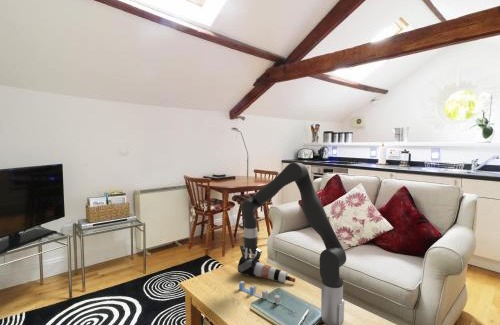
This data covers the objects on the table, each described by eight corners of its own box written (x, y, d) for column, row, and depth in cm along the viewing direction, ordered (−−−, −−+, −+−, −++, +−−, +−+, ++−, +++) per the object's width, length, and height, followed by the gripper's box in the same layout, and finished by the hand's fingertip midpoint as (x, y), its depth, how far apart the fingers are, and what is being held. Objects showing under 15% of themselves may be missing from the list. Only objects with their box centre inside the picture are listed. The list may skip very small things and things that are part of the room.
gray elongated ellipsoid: (252, 262, 151) (252, 256, 151) (257, 264, 149) (257, 257, 149) (236, 271, 140) (236, 265, 140) (241, 273, 138) (241, 267, 138)
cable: (292, 293, 151) (292, 282, 146) (238, 275, 164) (236, 265, 159) (297, 278, 159) (297, 267, 153) (245, 262, 172) (243, 252, 167)
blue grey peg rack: (280, 303, 135) (280, 296, 134) (277, 305, 133) (277, 298, 132) (241, 287, 149) (241, 280, 149) (239, 289, 148) (239, 282, 147)
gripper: (265, 235, 144) (265, 266, 146) (244, 230, 153) (244, 259, 154) (257, 240, 138) (257, 272, 140) (236, 234, 147) (236, 264, 148)
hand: (250, 265), depth 147 cm, fingers closed on gray elongated ellipsoid, 3 cm apart
